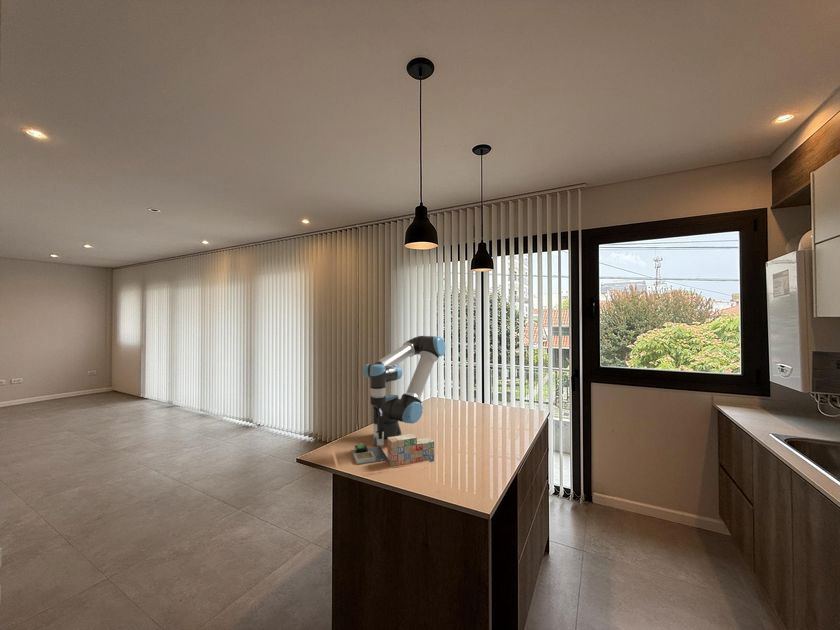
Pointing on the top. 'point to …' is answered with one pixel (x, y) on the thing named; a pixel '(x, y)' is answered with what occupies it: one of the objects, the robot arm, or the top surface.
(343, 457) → the top surface
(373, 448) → the panel
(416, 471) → the top surface
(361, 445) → the button
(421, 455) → the stack of blocks
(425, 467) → the top surface
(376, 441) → the cylinder
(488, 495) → the top surface
